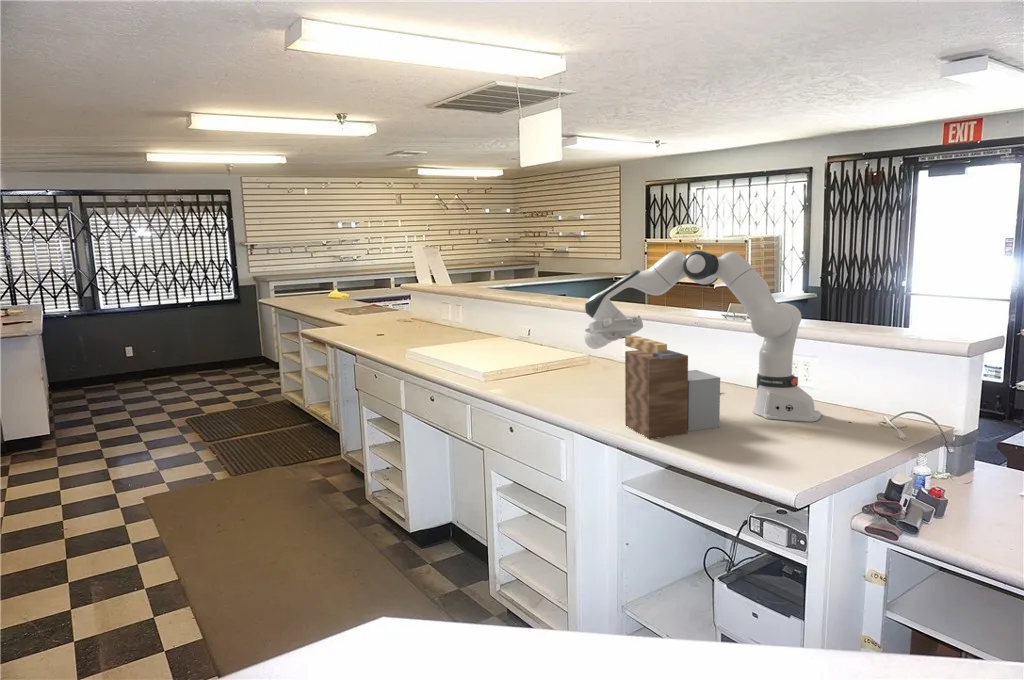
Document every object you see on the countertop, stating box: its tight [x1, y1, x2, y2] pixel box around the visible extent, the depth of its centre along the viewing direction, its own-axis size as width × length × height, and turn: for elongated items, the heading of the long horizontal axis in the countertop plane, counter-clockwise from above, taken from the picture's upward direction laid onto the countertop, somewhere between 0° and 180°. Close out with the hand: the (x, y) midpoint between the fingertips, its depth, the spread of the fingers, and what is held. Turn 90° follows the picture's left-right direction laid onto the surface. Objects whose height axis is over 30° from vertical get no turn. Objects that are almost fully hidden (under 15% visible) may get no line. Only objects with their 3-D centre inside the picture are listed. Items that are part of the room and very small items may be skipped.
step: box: [687, 369, 721, 432], centre depth 226 cm, size 14×12×17 cm
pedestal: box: [624, 349, 689, 439], centre depth 219 cm, size 16×14×26 cm
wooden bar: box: [624, 334, 683, 359], centre depth 221 cm, size 28×7×4 cm, turn 18°
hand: (624, 320), depth 237 cm, fingers open, 8 cm apart
